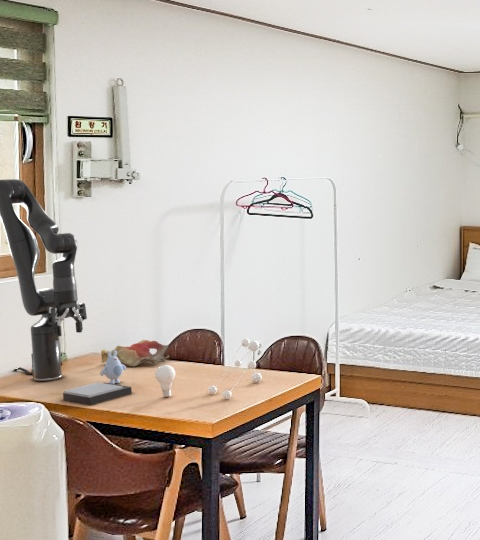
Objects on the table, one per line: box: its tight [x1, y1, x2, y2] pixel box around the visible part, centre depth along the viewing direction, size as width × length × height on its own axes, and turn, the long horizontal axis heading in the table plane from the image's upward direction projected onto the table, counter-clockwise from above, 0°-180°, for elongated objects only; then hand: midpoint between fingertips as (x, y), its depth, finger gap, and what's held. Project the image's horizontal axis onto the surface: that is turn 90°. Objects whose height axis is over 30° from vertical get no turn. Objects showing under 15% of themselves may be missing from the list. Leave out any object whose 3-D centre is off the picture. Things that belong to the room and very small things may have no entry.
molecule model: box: [207, 338, 263, 400], centre depth 299 cm, size 14×25×18 cm, turn 155°
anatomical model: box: [100, 339, 170, 367], centre depth 347 cm, size 23×25×10 cm
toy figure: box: [100, 349, 127, 384], centre depth 312 cm, size 11×6×12 cm, turn 149°
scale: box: [62, 381, 133, 406], centre depth 294 cm, size 14×16×3 cm
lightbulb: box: [154, 364, 177, 398], centre depth 292 cm, size 6×6×11 cm
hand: (69, 334), depth 313 cm, fingers open, 8 cm apart
